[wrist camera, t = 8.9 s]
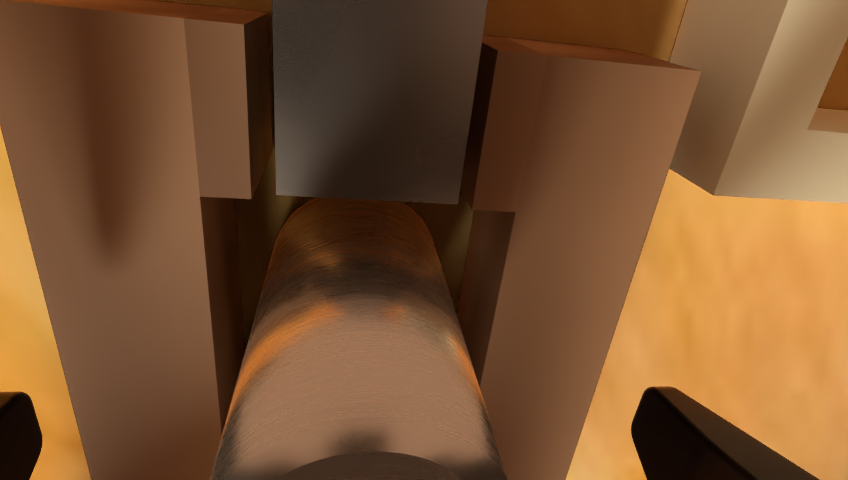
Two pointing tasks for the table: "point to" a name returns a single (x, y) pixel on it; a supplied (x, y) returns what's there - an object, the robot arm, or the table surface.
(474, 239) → the socket block
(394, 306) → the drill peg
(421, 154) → the dark grey block
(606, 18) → the table surface
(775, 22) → the beige square frame
